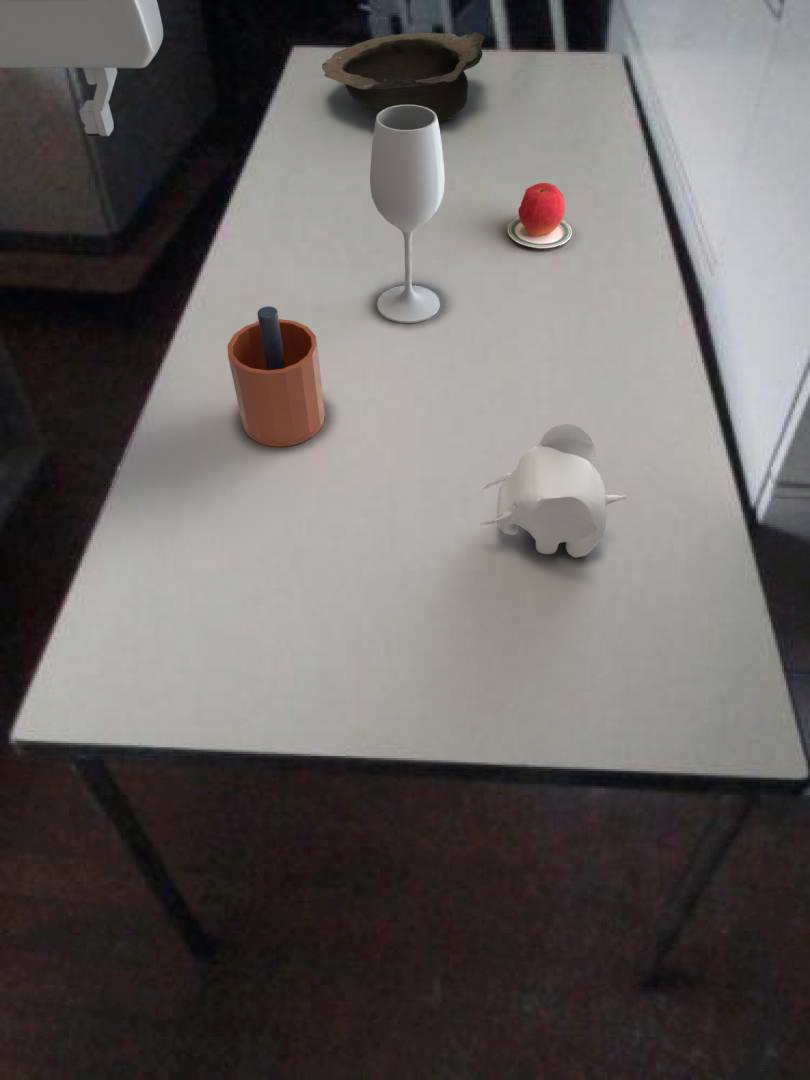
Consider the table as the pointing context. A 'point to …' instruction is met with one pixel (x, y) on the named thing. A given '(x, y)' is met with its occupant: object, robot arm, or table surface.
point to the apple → (541, 218)
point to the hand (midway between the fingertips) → (33, 132)
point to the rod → (271, 338)
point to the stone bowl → (408, 70)
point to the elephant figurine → (555, 494)
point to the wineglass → (407, 194)
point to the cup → (278, 385)
